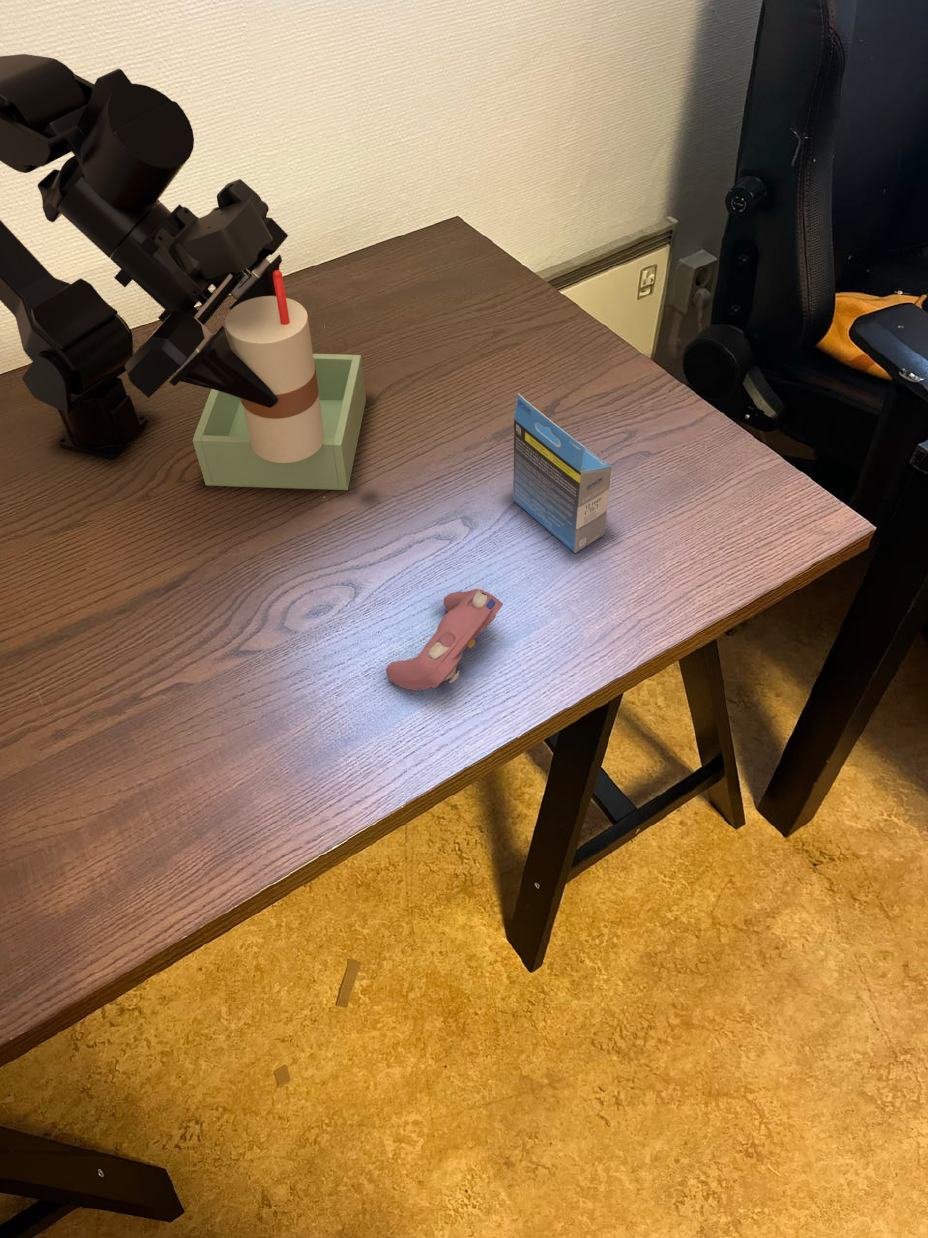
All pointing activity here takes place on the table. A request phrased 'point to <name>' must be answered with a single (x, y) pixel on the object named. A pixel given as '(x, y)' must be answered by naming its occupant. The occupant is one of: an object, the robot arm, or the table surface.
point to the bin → (329, 468)
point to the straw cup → (279, 374)
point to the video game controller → (447, 641)
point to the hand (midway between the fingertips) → (291, 379)
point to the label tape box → (558, 479)
